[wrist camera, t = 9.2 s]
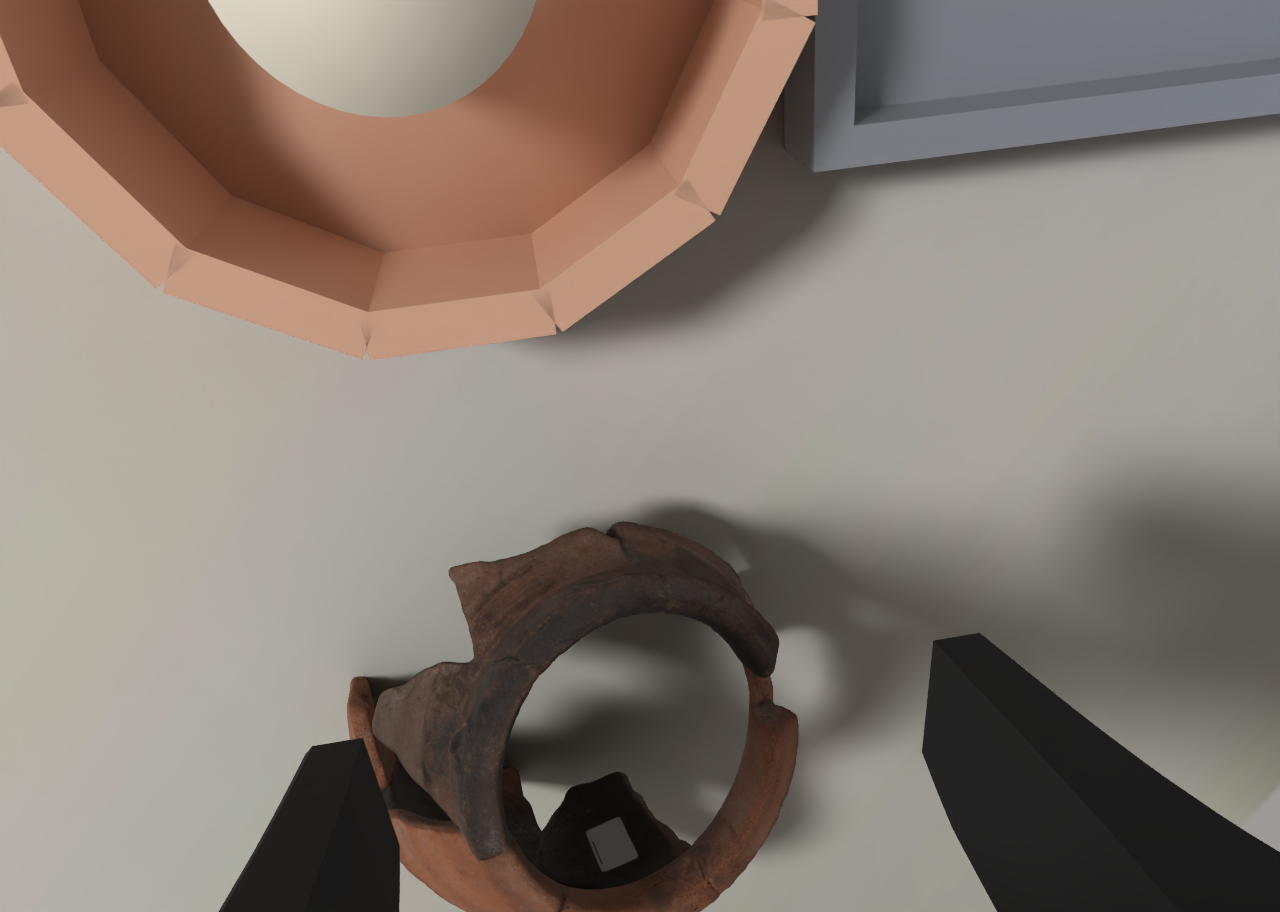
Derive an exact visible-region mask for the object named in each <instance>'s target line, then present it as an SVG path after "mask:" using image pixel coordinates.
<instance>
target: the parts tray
mask: <svg viewBox="0 0 1280 912" xmlns="http://www.w3.org/2000/svg"><path fill="white" fill-rule="evenodd" d="M804 17H806V18H808V19H810V20H811V21H813V22H815V25H814V27H813V29H812V31H811V33H810V35H809V37H808V39H807V41H806V43H805V45H804V47H803V49H802V51H801V53H800V55H799V57H798V59H797V61H796V63H795V65H794V67H793V69H792V72H791V74H790V76H789V78H788V80H787V82H786V84H785V86H784V90H785V150H787V151H788V152H789V153H790V154H791V155H793V156H794V157H795V158H796V159H798V160H799V161H800V162H801V163H802V164H804V165H805V166H806V167H807V168H809V169H810V170H811V171H812V172H813V173H814V172H822V171H830V170H838V169H846V168H853V167H861V166H869V165H877V164H885V163H893V162H901V161H909V160H917V159H924V158H932V157H940V156H948V155H956V154H964V153H972V152H980V151H987V150H995V149H1003V148H1011V147H1019V146H1027V145H1035V144H1043V143H1051V142H1058V141H1066V140H1074V139H1082V138H1090V137H1098V136H1106V135H1114V134H1122V133H1129V132H1137V131H1145V130H1153V129H1161V128H1169V127H1177V126H1185V125H1192V124H1200V123H1208V122H1216V121H1224V120H1232V119H1240V118H1248V117H1256V116H1263V115H1271V114H1279V113H1280V0H818V15H812V16H804Z"/></svg>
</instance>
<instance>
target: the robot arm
mask: <svg viewBox="0 0 1280 912" xmlns="http://www.w3.org/2000/svg"><path fill="white" fill-rule="evenodd" d="M922 753H923V756H924V758H925V761H926V763H927V766H928V769H929V771H930V774H931V776H932V779H933V782H934V784H935V787H936V789H937V792H938V794H939V797H940V799H941V802H942V804H943V807H944V809H945V811H946V814H947V816H948V819H949V821H950V824H951V826H952V828H953V830H954V832H955V834H956V836H957V838H958V840H959V841H960V843H961V845H962V847H963V849H964V851H965V853H966V855H967V857H968V858H969V860H970V862H971V864H972V866H973V868H974V870H975V871H976V873H977V875H978V877H979V879H980V881H981V883H982V884H983V886H984V888H985V890H986V892H987V894H988V895H989V897H990V899H991V901H992V903H993V905H994V906H995V908H996V910H997V912H1280V852H1279V851H1277V850H1275V849H1274V848H1272V847H1270V846H1269V845H1267V844H1265V843H1264V842H1262V841H1260V840H1259V839H1257V838H1255V837H1254V836H1252V835H1251V834H1249V833H1247V832H1246V831H1244V830H1243V829H1241V828H1240V827H1238V826H1236V825H1235V824H1233V823H1232V822H1230V821H1229V820H1227V819H1226V818H1224V817H1222V816H1221V815H1219V814H1218V813H1216V812H1215V811H1213V810H1212V809H1210V808H1209V807H1208V806H1206V805H1205V804H1203V803H1202V802H1200V801H1199V800H1197V799H1196V798H1194V797H1193V796H1191V795H1190V794H1189V793H1187V792H1186V791H1184V790H1183V789H1181V788H1180V787H1178V786H1177V785H1175V784H1174V783H1173V782H1171V781H1170V780H1168V779H1167V778H1165V777H1164V776H1162V775H1161V774H1160V773H1158V772H1157V771H1156V770H1154V769H1153V768H1151V767H1150V766H1149V765H1147V764H1146V763H1144V762H1143V761H1142V760H1140V759H1139V758H1138V757H1136V756H1135V755H1134V754H1132V753H1131V752H1130V751H1128V750H1127V749H1126V748H1124V747H1123V746H1122V745H1120V744H1119V743H1118V742H1116V741H1115V740H1114V739H1112V738H1111V737H1110V736H1109V735H1107V734H1106V733H1105V732H1103V731H1102V730H1101V729H1099V728H1098V727H1097V726H1095V725H1094V724H1093V723H1091V722H1090V721H1089V720H1088V719H1086V718H1085V717H1084V716H1082V715H1081V714H1080V713H1079V712H1077V711H1076V710H1075V709H1073V708H1072V707H1071V706H1070V705H1068V704H1067V703H1066V702H1065V701H1063V700H1062V699H1061V698H1060V697H1058V696H1057V695H1056V694H1055V693H1053V692H1052V691H1051V690H1050V689H1048V688H1047V687H1046V686H1045V685H1043V684H1042V683H1041V682H1040V681H1038V680H1037V679H1036V678H1035V677H1033V676H1032V675H1031V674H1030V673H1029V672H1027V671H1026V670H1025V669H1024V668H1022V667H1021V666H1020V665H1019V664H1017V663H1016V662H1015V661H1014V660H1012V659H1011V658H1010V657H1009V656H1008V655H1006V654H1005V653H1004V652H1003V651H1001V650H1000V649H999V648H998V647H996V646H995V645H994V644H993V643H991V642H990V641H989V640H987V639H986V638H985V637H984V636H982V635H981V634H980V633H976V634H971V635H965V636H959V637H953V638H947V639H941V640H935V641H933V650H932V660H931V669H930V679H929V689H928V699H927V709H926V718H925V728H924V738H923V748H922ZM399 895H400V845H399V842H398V839H397V836H396V833H395V830H394V827H393V824H392V821H391V818H390V815H389V813H388V810H387V807H386V804H385V801H384V798H383V795H382V792H381V789H380V786H379V783H378V780H377V777H376V774H375V772H374V769H373V766H372V763H371V760H370V757H369V754H368V751H367V748H366V745H365V742H364V739H363V738H358V739H353V740H347V741H341V742H335V743H329V744H323V745H317V746H312V747H311V748H310V750H309V751H308V752H307V753H306V754H305V756H304V758H303V760H302V762H301V764H300V766H299V768H298V770H297V772H296V774H295V776H294V778H293V780H292V782H291V783H290V785H289V787H288V789H287V791H286V793H285V795H284V797H283V799H282V801H281V803H280V804H279V806H278V808H277V810H276V812H275V814H274V816H273V818H272V819H271V821H270V823H269V825H268V827H267V829H266V830H265V832H264V834H263V836H262V838H261V839H260V841H259V843H258V845H257V847H256V849H255V850H254V852H253V854H252V856H251V857H250V859H249V861H248V863H247V864H246V866H245V868H244V869H243V871H242V873H241V875H240V876H239V878H238V880H237V881H236V883H235V885H234V886H233V888H232V890H231V892H230V893H229V895H228V897H227V898H226V900H225V902H224V904H223V905H222V907H221V909H220V910H219V912H399Z"/></svg>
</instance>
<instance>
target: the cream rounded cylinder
mask: <svg viewBox="0 0 1280 912" xmlns="http://www.w3.org/2000/svg"><path fill="white" fill-rule="evenodd" d="M208 1H209V3H210V4H211V6H212V8H213V9H214V11H215V12H216V14H217V16H218V17H219V19H220V20H221V22H222V24H223V25H224V26H225V28H226V29H227V30H228V31H229V33H230V34H231V35H232V37H233V38H234V39H235V40H236V42H237V43H238V44H239V45H240V46H241V47H242V48H243V49H244V50H245V51H246V52H247V54H248V55H249V56H250V57H251V58H252V59H253V60H254V61H255V62H256V63H257V64H259V65H260V66H261V67H262V68H263V69H265V70H266V71H267V72H268V73H269V74H271V75H272V76H273V77H274V78H276V79H277V80H278V81H280V82H282V83H283V84H285V85H286V86H288V87H289V88H291V89H292V90H294V91H295V92H297V93H299V94H301V95H303V96H305V97H307V98H309V99H311V100H313V101H315V102H317V103H320V104H323V105H325V106H328V107H331V108H334V109H337V110H340V111H344V112H348V113H353V114H358V115H362V116H374V117H402V116H410V115H415V114H421V113H426V112H429V111H432V110H435V109H438V108H441V107H444V106H447V105H449V104H451V103H453V102H455V101H457V100H459V99H461V98H463V97H464V96H466V95H467V94H469V93H470V92H472V91H473V90H475V89H476V88H478V87H479V86H480V85H482V84H483V83H484V82H485V81H486V80H487V79H488V78H489V77H490V76H492V75H493V74H494V73H495V72H496V71H497V70H498V69H499V67H500V66H501V65H502V64H503V63H504V61H505V60H506V59H507V58H508V56H509V55H510V54H511V53H512V51H513V49H514V48H515V46H516V44H517V43H518V41H519V40H520V38H521V36H522V35H523V33H524V30H525V28H526V26H527V24H528V21H529V19H530V17H531V15H532V12H533V8H534V5H535V2H536V0H208Z"/></svg>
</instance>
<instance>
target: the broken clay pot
mask: <svg viewBox="0 0 1280 912" xmlns="http://www.w3.org/2000/svg"><path fill="white" fill-rule="evenodd" d="M449 576H450V578H451V580H452V581H453V582H454V583H455V585H456V589H457V592H458V595H459V598H460V600H461V605H462V610H463V613H464V615H465V617H466V620H467V623H468V626H469V631H470V635H471V638H472V642H473V650H474V658H473V659H472V660H471V661H470V662H468V663H456V662H441V663H438V664H436V665H434V666H432V667H429V668H426V669H424V670H423V671H421V672H419V673H418V674H417V675H415V676H414V677H413V678H412V679H410V680H409V681H408V682H407V683H406V684H404V685H401V686H397V687H393V688H388V689H387V690H385V691H383V692H382V693H381V695H380V696H379V698H378V702H377V705H376V707H375V705H374V701H373V698H372V695H371V691H370V686H369V683H368V681H367V679H366V678H364V677H355V678H353V679H352V681H351V684H350V693H349V699H348V703H347V718H348V728H349V734H350V739H351V740H353V739H358V738H363V739H364V742H365V745H366V748H367V751H368V754H369V757H370V760H371V763H372V766H373V769H374V772H375V774H376V777H377V780H378V783H379V786H380V789H381V792H382V795H383V798H384V801H385V804H386V807H387V810H388V813H389V815H390V818H391V821H392V824H393V827H394V830H395V833H396V836H397V839H398V842H399V845H400V862H401V863H402V864H403V865H404V866H405V867H406V869H407V870H408V871H409V872H410V873H412V874H413V875H414V876H415V877H416V878H418V879H419V880H420V881H422V882H423V883H425V884H426V885H427V886H428V887H429V888H430V889H431V890H433V891H434V892H435V893H436V894H437V895H439V896H440V897H442V898H443V899H445V900H446V901H448V902H449V903H451V904H453V905H455V906H457V907H458V908H460V909H462V910H464V911H466V912H700V911H702V910H703V909H704V908H706V907H707V906H708V905H709V904H711V903H713V902H714V901H715V900H716V899H717V898H718V897H719V895H720V894H721V893H722V892H723V891H724V890H726V889H727V888H729V887H730V886H731V885H732V884H733V883H734V881H735V880H736V879H737V877H738V876H739V875H740V874H741V873H742V872H743V871H744V870H745V869H746V867H747V866H748V864H749V863H750V862H751V860H752V859H753V858H754V856H755V855H756V853H757V851H758V850H759V849H760V848H761V847H762V845H763V843H764V841H765V840H766V838H767V837H768V835H769V834H770V831H771V829H772V828H773V826H774V824H775V822H776V820H777V819H778V816H779V813H780V809H781V807H782V804H783V801H784V799H785V797H786V796H787V794H788V790H789V785H790V782H791V779H792V776H793V772H794V769H795V761H796V755H797V747H798V726H799V725H798V718H797V716H796V714H794V713H793V712H791V711H790V710H788V709H786V708H784V707H782V706H778V705H775V704H774V703H773V686H772V681H771V678H770V675H771V674H772V673H773V671H774V669H775V664H776V658H777V653H778V648H779V639H778V636H777V634H776V632H775V631H774V629H773V628H772V627H771V625H770V624H769V623H768V622H767V621H766V620H765V619H764V618H763V617H762V615H761V614H760V613H759V612H758V611H757V610H756V609H755V608H754V607H753V604H752V602H751V600H750V598H749V596H748V594H747V592H746V591H745V590H744V589H743V588H741V584H740V580H739V577H738V575H737V573H736V572H735V571H734V569H733V568H732V567H731V566H730V565H729V564H728V563H727V562H725V561H724V560H722V558H720V557H719V556H717V555H716V554H714V553H713V552H712V551H710V550H708V549H706V548H705V547H703V546H701V545H700V544H698V543H696V542H693V541H691V540H690V539H688V538H686V537H684V536H681V535H678V534H676V533H672V532H670V531H667V530H664V529H659V528H653V527H649V526H645V525H639V524H636V523H631V522H618V523H615V524H614V525H612V526H611V527H610V529H609V531H608V532H607V534H606V535H605V534H603V533H602V532H600V531H598V530H596V529H593V528H589V527H587V528H581V529H578V530H576V531H573V532H570V533H567V534H564V535H562V536H559V537H558V538H556V539H554V540H553V541H551V542H549V543H547V544H545V545H542V546H540V547H538V548H536V549H534V550H532V551H530V552H527V553H524V554H520V555H517V556H514V557H510V558H507V559H500V560H497V561H493V562H484V561H479V562H472V563H466V564H463V565H459V566H454V567H451V568H450V569H449ZM652 612H664V613H667V614H677V615H683V616H687V617H690V618H693V619H696V620H698V621H701V622H703V623H704V624H706V625H708V626H710V627H711V628H712V629H713V630H714V631H715V632H717V633H718V634H719V635H720V636H721V637H722V638H723V639H724V640H725V641H726V642H727V643H728V644H729V645H730V647H731V648H732V650H733V651H734V653H735V654H736V656H737V657H738V658H739V660H740V661H741V662H742V663H743V667H744V670H745V674H746V677H747V681H748V687H749V693H750V694H749V724H748V734H747V740H746V745H745V749H744V753H743V756H742V760H741V764H740V767H739V770H738V773H737V776H736V779H735V781H734V783H733V785H732V788H731V790H730V792H729V794H728V796H727V798H726V799H725V801H724V803H723V805H722V807H721V808H720V810H719V811H718V813H717V815H716V816H715V818H714V819H713V821H712V822H711V824H710V825H709V826H708V828H707V829H706V830H705V831H704V833H703V834H702V835H701V836H700V837H699V838H698V839H697V840H696V841H695V843H694V844H693V845H692V846H691V845H690V844H688V843H687V842H686V841H684V840H680V839H678V837H677V836H676V834H675V833H674V832H673V831H672V830H671V829H670V828H669V827H668V826H667V825H665V824H663V823H661V822H660V821H658V820H657V819H656V818H655V817H654V815H653V814H652V812H651V811H650V810H649V809H648V807H647V805H646V803H645V801H644V800H643V797H642V796H641V795H640V794H638V793H636V792H635V791H634V790H633V789H632V787H631V784H630V782H629V780H628V777H627V776H626V775H625V774H623V773H621V772H615V773H612V774H609V775H606V776H604V777H602V778H601V779H598V780H596V781H593V782H590V783H585V784H580V785H576V786H573V787H571V788H570V789H569V790H568V791H567V793H566V795H565V798H564V800H563V802H562V804H561V805H560V807H559V808H558V809H557V810H556V811H555V812H554V813H553V815H552V816H551V818H550V820H549V822H548V823H547V825H546V826H545V828H544V829H543V830H542V831H541V830H540V828H539V826H538V824H537V822H536V819H535V816H534V813H533V810H532V807H531V805H530V803H529V802H528V801H527V800H526V798H525V797H524V796H523V791H522V786H521V780H520V776H519V773H518V771H517V770H516V769H515V768H505V769H503V764H504V759H505V754H506V750H507V745H508V741H509V737H510V734H511V730H512V728H513V725H514V722H515V720H516V717H517V716H518V714H519V711H520V708H521V706H522V704H523V702H524V701H525V699H526V697H527V696H528V694H529V691H530V690H531V688H532V685H533V683H534V682H535V681H536V679H537V678H538V676H539V675H541V674H542V673H543V672H544V671H545V670H546V669H547V668H548V667H549V666H550V665H551V663H552V662H553V661H555V659H556V658H557V657H558V656H559V655H561V654H563V653H564V652H565V651H567V650H568V649H569V648H570V647H571V646H572V645H574V644H575V643H577V642H578V641H579V640H580V639H581V638H583V637H584V636H586V635H587V634H589V633H590V632H592V631H593V630H595V629H598V628H599V627H601V626H603V625H605V624H607V623H609V622H611V621H613V620H615V619H618V618H622V617H626V616H630V615H636V614H640V613H652Z"/></svg>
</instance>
